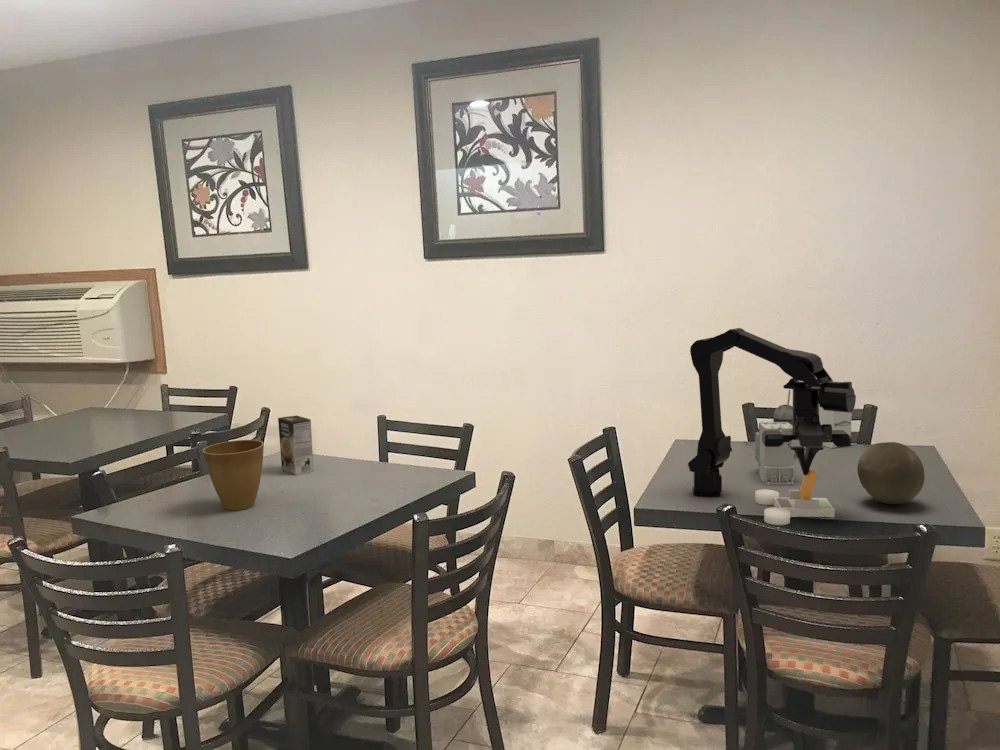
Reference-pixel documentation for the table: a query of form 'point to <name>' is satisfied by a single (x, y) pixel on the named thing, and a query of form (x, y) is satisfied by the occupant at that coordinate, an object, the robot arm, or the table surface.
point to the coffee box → (296, 444)
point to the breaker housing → (804, 505)
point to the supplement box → (835, 422)
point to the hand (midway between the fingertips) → (805, 474)
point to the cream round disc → (777, 516)
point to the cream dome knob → (765, 496)
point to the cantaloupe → (891, 472)
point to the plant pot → (235, 471)
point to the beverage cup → (784, 413)
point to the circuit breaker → (774, 456)
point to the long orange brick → (807, 484)
